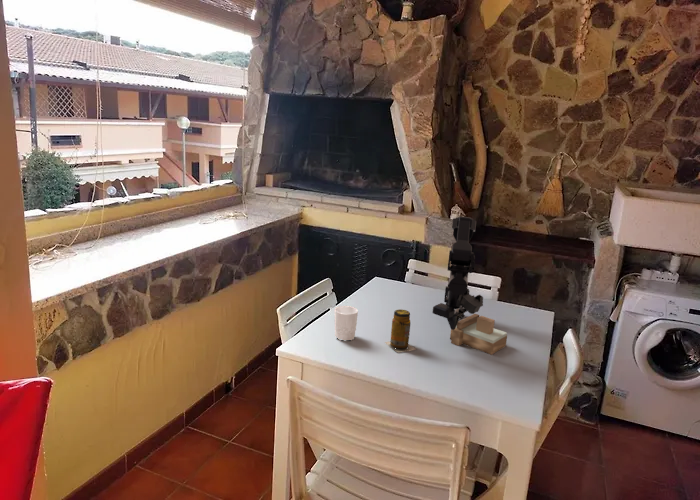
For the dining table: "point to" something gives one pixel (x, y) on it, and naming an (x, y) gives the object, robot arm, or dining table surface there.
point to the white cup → (345, 322)
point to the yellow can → (400, 331)
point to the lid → (484, 330)
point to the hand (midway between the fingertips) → (452, 329)
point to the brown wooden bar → (467, 321)
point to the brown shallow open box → (476, 342)
